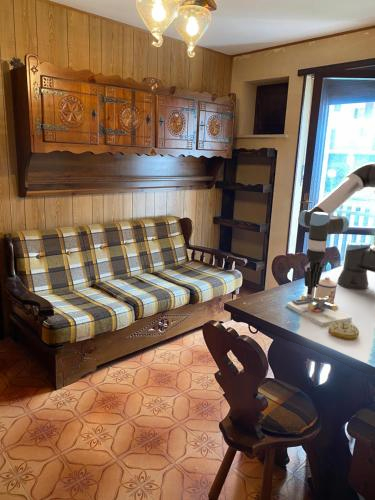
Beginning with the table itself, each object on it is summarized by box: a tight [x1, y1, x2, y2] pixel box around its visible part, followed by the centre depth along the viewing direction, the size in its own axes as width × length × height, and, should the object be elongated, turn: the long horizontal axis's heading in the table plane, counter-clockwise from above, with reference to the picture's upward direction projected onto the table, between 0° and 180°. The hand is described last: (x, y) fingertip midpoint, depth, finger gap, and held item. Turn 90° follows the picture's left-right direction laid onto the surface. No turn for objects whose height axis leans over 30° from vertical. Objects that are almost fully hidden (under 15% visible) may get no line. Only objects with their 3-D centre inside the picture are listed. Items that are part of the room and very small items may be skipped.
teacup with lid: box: [314, 276, 338, 305], centre depth 181 cm, size 12×9×12 cm
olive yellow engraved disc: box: [328, 322, 360, 341], centre depth 147 cm, size 10×11×4 cm
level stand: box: [286, 298, 352, 327], centre depth 166 cm, size 16×22×3 cm
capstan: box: [300, 294, 339, 312], centre depth 165 cm, size 17×17×5 cm
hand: (309, 300), depth 170 cm, fingers closed
